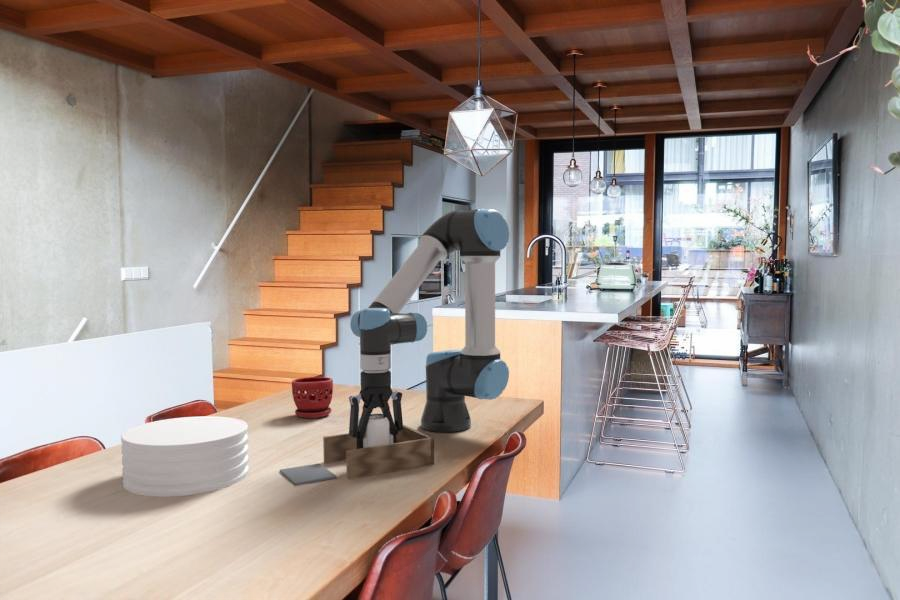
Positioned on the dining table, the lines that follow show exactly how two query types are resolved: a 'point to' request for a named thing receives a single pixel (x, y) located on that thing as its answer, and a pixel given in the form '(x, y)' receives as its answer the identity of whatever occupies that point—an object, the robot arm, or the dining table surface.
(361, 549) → the dining table surface
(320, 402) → the plant pot
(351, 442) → the walnut u-shaped enclosure
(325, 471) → the slate mat
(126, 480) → the plate stack
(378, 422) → the can
